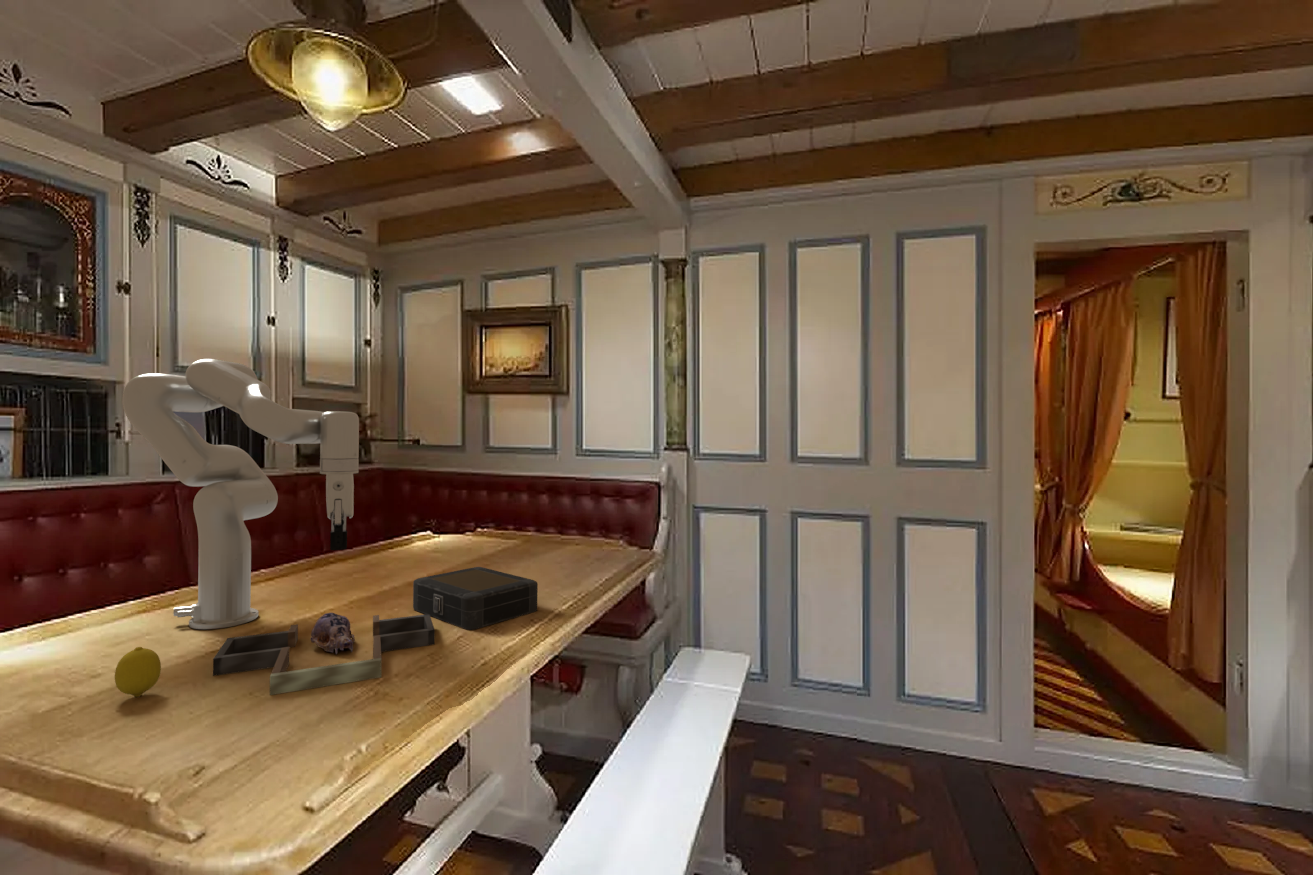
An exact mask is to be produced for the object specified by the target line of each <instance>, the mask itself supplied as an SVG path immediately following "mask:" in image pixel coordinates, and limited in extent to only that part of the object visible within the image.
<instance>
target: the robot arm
mask: <svg viewBox="0 0 1313 875" xmlns="http://www.w3.org/2000/svg"><path fill="white" fill-rule="evenodd" d="M185 370H186V371H185V374H184V375H175V374H168V373H156V372H155V373H153V372H152V373H143V374H139V375H137V376H135V377H133V378H131V379H129V381H127V383H126V385H125V386H124V388H123V392H122V407H123V411H124V414H125V416H126V419H127V420H128V421H129V423H130V424H131V426H132V427H133V428H134V429H135V430H136V431H137V432H138V434H140V435H141V436H142V438H144V439H145V441H147V442H148V443H149V445H151V447H152V448H153V449H154V451H155V452H156V454H157V455H159V457H160V458H161V460H162V461H163V462H164V463H165V465H166V466H167V467H168V468H169V470H170V471H171V472H172V473H173V475H174V476H175V477H176V478H177V480H179V481H180V482H181V483H182V484H184V485H185V486H187V487H202V488H201V489H199V490H198V492H197V493H196V495H194V499H193V504H192V505H193V506H192V507H193V513H194V514H193V515H194V517H195V518H194V519H195V523H196V526H197V536H198V538H197V539H198V573H197V574H198V580H197V585H198V588H197V591H198V592H197V602H196V603H195V604H194V603H193V604H192V605H190V606H185V605H184V606H175V607H174V608H173V613H172V614H173V616H174V617H177V618H184V617H191V618H190V619H189V620H188V626H189V627H190V629H191V628H192V629H194V630H215V629H223V628H230V627H235V626H239V625H244V624H246V623H248V622H249V623H250V622H252V621H254V620H256V619H257V618H258V617H259V610H258V609H257V608H253V607H251V598H252V597H251V587H252V586H251V585H252V584H251V583H252V580H251V579H252V577H251V576H252V571H251V570H252V540H251V535H250V532H249V530H248V528H247V526H246V524H245V522H244V521H248V520H254V519H259V518H262V517H265V516H267V515H269V514H271V513H273V511H274V510H275V509H276V507H277V505H278V499H279V496H278V495H279V494H278V492H277V490H276V487H275V485H274V484H273V483H272V480H270V478H269V477H268V476H267V474H265V473H264V471H263V470H262V469H261V468H260V466H259V464H257V462H256V461H255V460H254V459H253V458H252V457H251V456H250V454H249V453H248V452H246V451H245V450H244V449H242V448H240V447H238V446H235V445H230V444H211V443H209V442H207V441H206V440H205V439H204V438H203V437H202V436H201V434H199V432H198V431H197V430H196V428H195V427H194V426H193V425H192V424H191V423H189V422H188V421H187V420H185V419H184V418H182V417H180V416H179V415H177V414H176V413H177V412H178V413H205V412H209V411H212V410H215V409H218V408H222V407H225V408H227V409H229V410H231V411H232V412H235V413H236V414H238V415H239V418H241V420H242V421H243V423H244V424H245V425H246V427H248V428H249V429H251V430H253V431H254V432H257V433H258V434H261V435H262V436H265V437H266V438H267V439H270V440H273V441H275V442H277V443H281V444H286V445H294V444H297V445H299V444H300V445H303V444H305V445H314V444H320V445H319V446H320V448H319V452H320V454H319V455H320V456H319V458H320V459H319V474H321V475H326V476H325V479H326V480H325V497H326V498H325V501H326V515H327V518H328V519H329V520H330V521H331V531H330V535H329V536H330V537H329V538H330V541H329V542H330V545H329V546H330V547H329V549H330V551H338V550H339V551H340V550H341V551H343V550H347V549H348V548H347V547H348V530H347V517H349V519H352V518H353V516H354V505H355V502H354V501H355V500H354V498H355V495H354V494H355V490H354V489H355V484H354V474H359V455H360V454H359V453H360V452H359V450H360V444H359V442H360V441H359V440H360V439H359V438H360V432H359V431H360V418H359V416H358V414H357V413H356V412H354V411H342V410H341V411H339V410H337V411H336V410H334V411H333V410H331V411H330V410H329V411H321V410H319V411H318V410H311V409H310V410H309V409H298V408H297V409H295V408H288V407H286V406H284V405H282V404H279V403H277V402H276V401H274V400H272V399H271V396H272V394H271V393H272V392H271V388H270V387H269V386H268V384H266V383H265V382H263V381H260V380H259V379H258V376H257V375H256V373H255V371H254V370H253V369H252V368H250V367H249V366H247V365H245V364H244V363H239V362H233V361H227V360H220V359H216V358H215V359H214V358H203V359H198V360H196V361H194V362H192V363H191V364H190V365H189V366H188V367H187V368H186V369H185ZM175 412H176V413H175Z"/></svg>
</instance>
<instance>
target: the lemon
mask: <svg viewBox="0 0 1313 875" xmlns="http://www.w3.org/2000/svg"><path fill="white" fill-rule="evenodd" d="M161 670H162V664H161V659H160V657H159V655H158V654H157V653H156V652H155V651H154V650H152V649H150V648H145V647H142V646H137V647H135V648H134V649H132V650H130V651H129V652H127V653H125V654H123V656H122V657H121V658H120V659H119V661H118V663H117V665H116V667H115V671H114V682H115V686H116V688H117V689H118V690H119V691H120V692H121V693H123V694H126V695H131V696H133V697H135V698H137V697H138V698H139V697H141V696H142V695H143V694H144V693H145V692H147V691H148V690H150V689H151V688H152V687H154V686H155V685H156V683H158V680H159V679H160V676H161Z"/></svg>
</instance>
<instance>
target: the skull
mask: <svg viewBox="0 0 1313 875" xmlns="http://www.w3.org/2000/svg"><path fill="white" fill-rule="evenodd" d="M310 636H311V637H310V641H311V643H313V644H314V643H315V644H316V645H317V646H318V647H319V648H322V649H323V650H324V651H326V653H328V652H329V653H333V654H334V651H335V655H337V654H338V651H339V650H340V651H344V649H347V650H350V652H351V653H353V650H354V643H355V641H356V637H355V634H354V633H352V630H351V623H350V619H348V617H346V616H344V615H340V614H337V613H334V612H327V613H324V614H322V616H320V617H319V618H318V619H317V620H316V622H315V624H314V626H313V628H312V630H311V633H310Z"/></svg>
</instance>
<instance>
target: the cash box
mask: <svg viewBox="0 0 1313 875" xmlns="http://www.w3.org/2000/svg"><path fill="white" fill-rule="evenodd" d="M412 583H413V584H412V585H413V586H412V587H413V589H412V591H413V592H412V596H413V597H412V609H413V611H416V612H418V613H421V614H422V615H425V614H430V617H433V618H435V619H437V620H440V621H443V622H445V623H448V624H451V625H454V626H456V627H459V628H461V629H464V630H467V631H468V630H469V631H474V630H478V629H481V628H485V627H488V626H491V625H495V624H499V623H502V622H504V621H508V620H513V619H516V618H519V617H523V616H527V615H529V614H532V613H535V612H537V610H538V585H539V584H538V582H537V581H536V580H534V579H530V578H527V577H523V576H519V575H515V574H509V573H507V572H503V571H498V570H495V569H491V568H486V567H482V566H475V567H470V568H468V567H467V568H465V569H459V570H454V571H449V572H444V573H443V572H442V573H440V574H433V575H428V576H424V577H418V578H416V579H414V580H413V582H412Z"/></svg>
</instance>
